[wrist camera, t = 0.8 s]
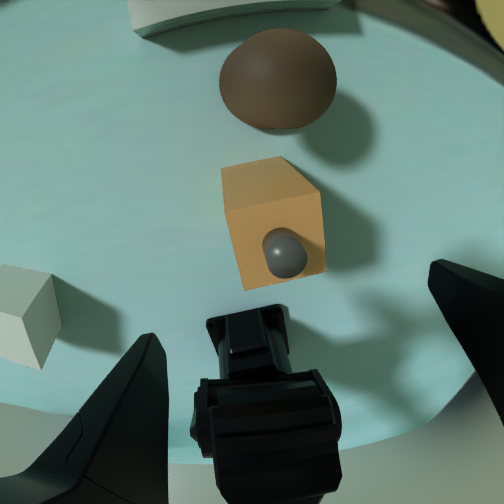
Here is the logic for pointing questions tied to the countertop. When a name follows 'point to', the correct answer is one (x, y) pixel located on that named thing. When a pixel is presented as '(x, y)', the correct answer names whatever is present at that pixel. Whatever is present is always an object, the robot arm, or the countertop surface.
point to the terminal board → (205, 11)
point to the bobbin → (278, 80)
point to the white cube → (27, 315)
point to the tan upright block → (273, 222)
